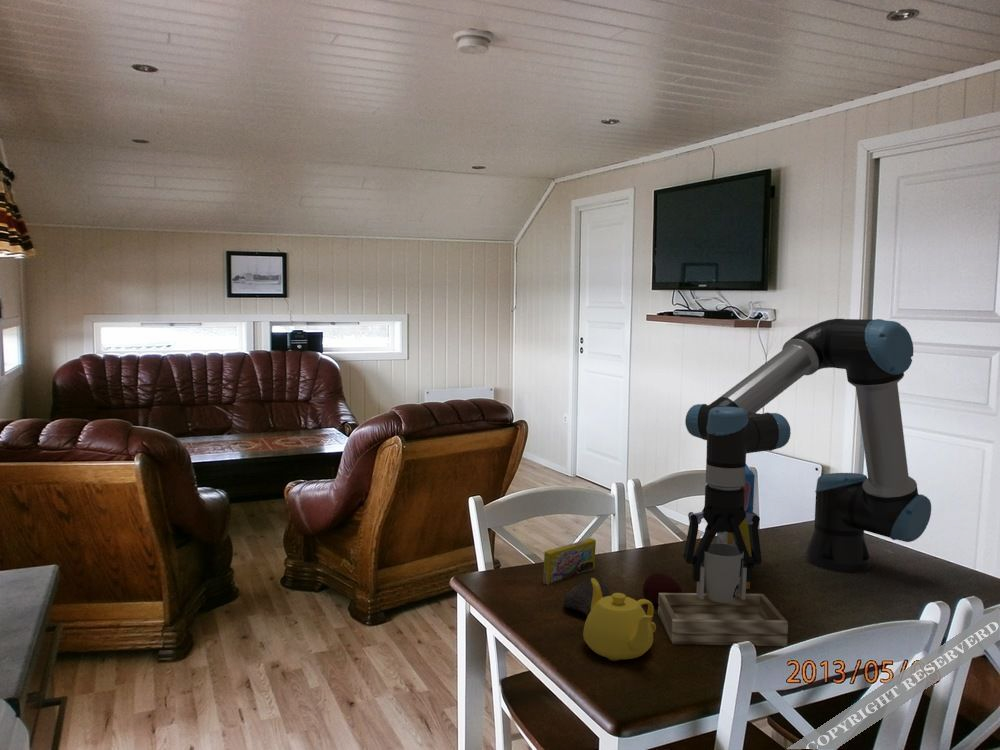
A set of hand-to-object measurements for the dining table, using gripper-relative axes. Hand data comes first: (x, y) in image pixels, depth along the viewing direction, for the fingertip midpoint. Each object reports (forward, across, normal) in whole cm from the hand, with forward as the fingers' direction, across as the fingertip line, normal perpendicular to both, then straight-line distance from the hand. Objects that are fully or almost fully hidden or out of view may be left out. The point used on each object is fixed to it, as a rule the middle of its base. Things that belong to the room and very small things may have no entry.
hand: (720, 596), depth 150 cm
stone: (+8, +28, -10) cm, 31 cm away
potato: (+7, +9, -13) cm, 17 cm away
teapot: (+7, +21, +10) cm, 24 cm away
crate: (+7, 0, 0) cm, 7 cm away
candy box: (+8, +28, -28) cm, 40 cm away
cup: (0, 0, 0) cm, 0 cm away
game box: (+7, -12, -32) cm, 35 cm away
